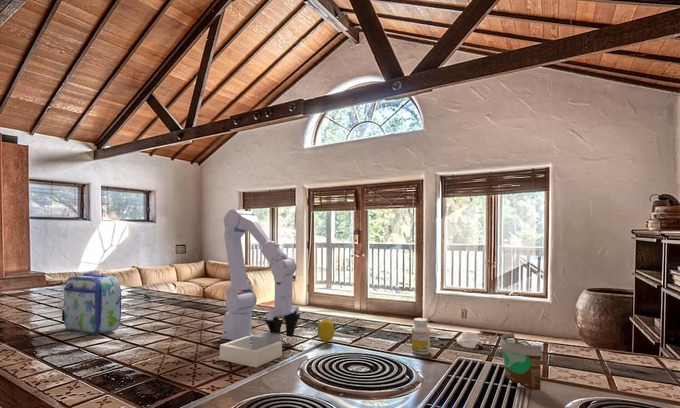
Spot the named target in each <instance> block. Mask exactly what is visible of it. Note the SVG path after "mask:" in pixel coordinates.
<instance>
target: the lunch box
mask: <svg viewBox="0 0 680 408" xmlns="http://www.w3.org/2000/svg"><path fill="white" fill-rule="evenodd" d="M121 319H122V288H121V284H120V281H119V279H118V278H117V277H116V276H111V275H106V274H95V273H94V274H93V273H92V272H85V273H83V274H82V275H77V276H71V277H68V278H67V279H66V282H65V286H64V288H63V310H62V311H61V321H62V322H63V324H64V327H65V330H66V329H67V330H66V331H73V332H78V331H79V333H84V334H88V335H96V334H97V335H98V334H103V333H108V332H111V331H116V330H118V329H119V327H120V325H121Z"/></svg>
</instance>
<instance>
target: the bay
mask: <svg viewBox="0 0 680 408" xmlns="http://www.w3.org/2000/svg"><path fill="white" fill-rule="evenodd" d="M282 356H283V341H281V340H280V341H279V342H276V343H273V344H271V345H268V346H265V347H263V348H260V349H258V350H252V338H251V336H246V337H243V338H240V339H237V340H230V341H228V342H225V343H222V344H219V360H221V361H225V362H230V363H234V364H238V365H243V366H248V367H252V368H259V367H261V366H262V365H265V364H267V363H269V362H271V361H274V360H276V359H278V358H281V357H282Z"/></svg>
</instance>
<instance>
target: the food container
mask: <svg viewBox="0 0 680 408" xmlns="http://www.w3.org/2000/svg"><path fill="white" fill-rule="evenodd" d="M499 347H500V348H501V350H502V354H503V356H502V358H503V364H504V374H505V378H506V377H507V379H509V380H511V381H512V382H514V383H520V384H521V385H523V386H524V387H525V388H527V389H526V390H531V391H541V382H542V381H541V376H542V375H541V373H542V370H541V369H542V368H541V367H542V357H543V349H542V346H541V345H532V344H530V342H528V341H526V340H521V339H520V338H519V339H518V338H516V336H515V333H514V332H513V333H505V334H502V335H501V338H500V341H499Z"/></svg>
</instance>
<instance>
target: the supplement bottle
mask: <svg viewBox="0 0 680 408" xmlns="http://www.w3.org/2000/svg"><path fill="white" fill-rule="evenodd" d="M413 324H414V325H413V326H412V327H411V350H412V353H413V354H415V355H422V356H423V355H424V356H425V355H429V354H431V329H430V327H429V326H428V319H427V318H423V317H417V318H416V317H415V318H413Z"/></svg>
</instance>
